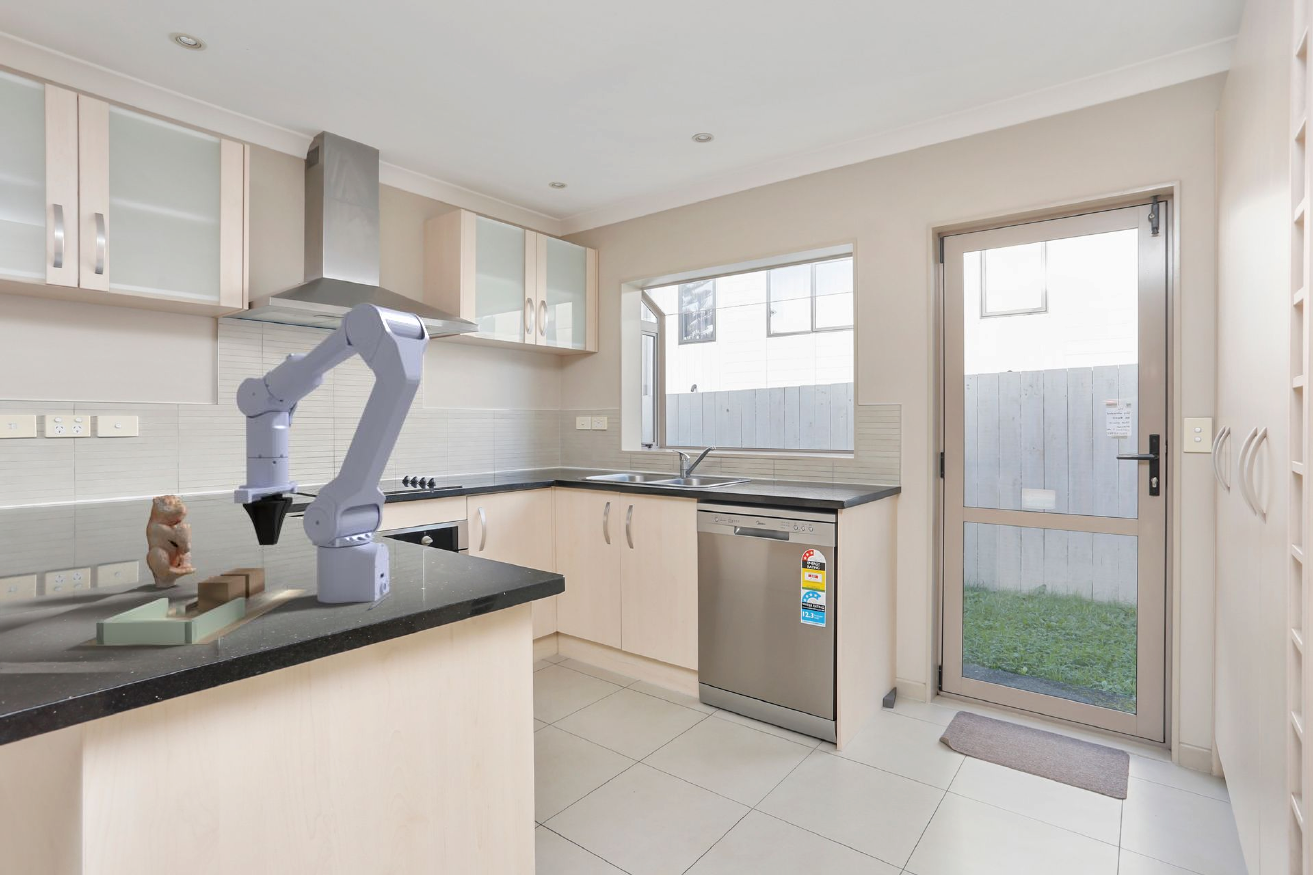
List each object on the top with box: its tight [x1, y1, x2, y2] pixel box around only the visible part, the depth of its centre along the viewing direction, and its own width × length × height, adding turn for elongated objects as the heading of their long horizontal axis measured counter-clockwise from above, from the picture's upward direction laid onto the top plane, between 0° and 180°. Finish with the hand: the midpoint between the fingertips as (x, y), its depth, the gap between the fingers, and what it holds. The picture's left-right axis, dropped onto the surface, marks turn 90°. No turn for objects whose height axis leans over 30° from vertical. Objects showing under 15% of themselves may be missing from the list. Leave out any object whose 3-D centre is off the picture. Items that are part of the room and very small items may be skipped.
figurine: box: [145, 494, 197, 589], centre depth 104 cm, size 6×8×15 cm
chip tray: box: [95, 597, 245, 646], centre depth 82 cm, size 11×11×2 cm
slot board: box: [79, 589, 309, 647], centre depth 88 cm, size 14×25×1 cm, turn 3°
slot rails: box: [175, 581, 291, 615], centre depth 94 cm, size 8×13×1 cm, turn 3°
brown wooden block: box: [219, 567, 266, 599], centre depth 96 cm, size 4×4×4 cm
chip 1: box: [197, 575, 245, 612], centre depth 91 cm, size 4×4×4 cm
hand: (268, 544), depth 103 cm, fingers closed
